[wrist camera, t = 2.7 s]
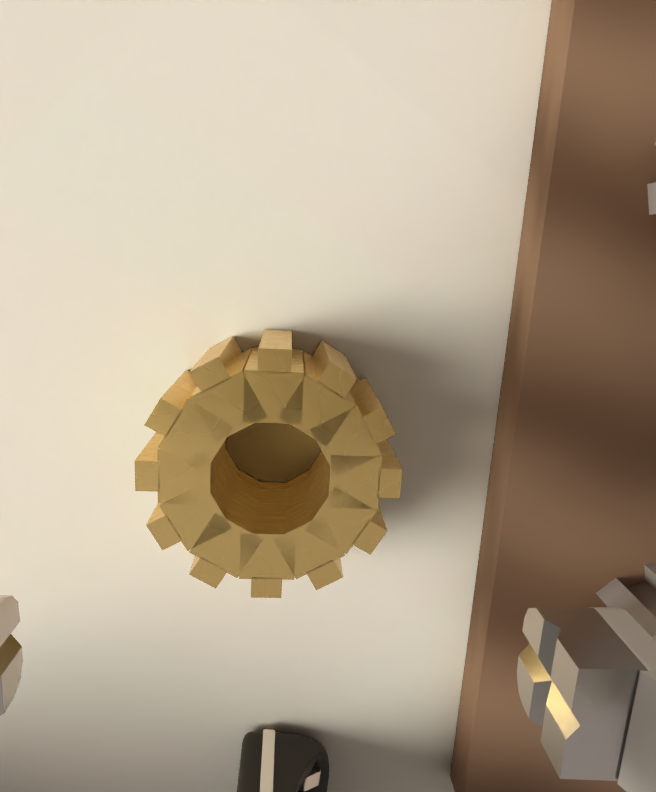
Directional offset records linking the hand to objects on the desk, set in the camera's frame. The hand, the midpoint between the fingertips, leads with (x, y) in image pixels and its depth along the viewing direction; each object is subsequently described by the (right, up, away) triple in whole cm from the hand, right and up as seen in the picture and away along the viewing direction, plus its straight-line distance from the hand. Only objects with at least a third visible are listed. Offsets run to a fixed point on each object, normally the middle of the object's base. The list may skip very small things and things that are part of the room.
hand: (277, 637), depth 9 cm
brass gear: (-1, +3, +9) cm, 9 cm away
